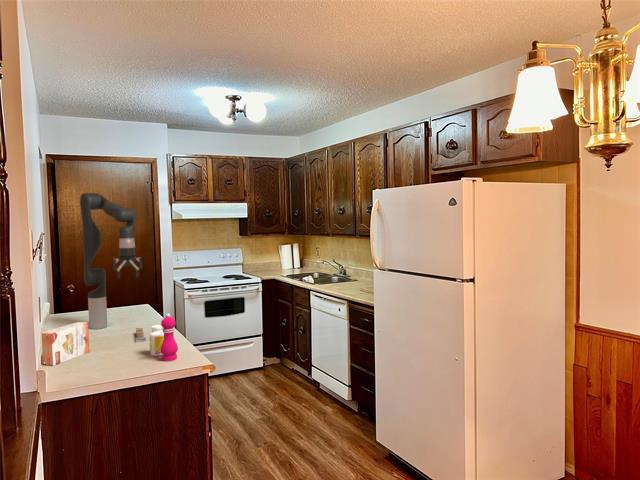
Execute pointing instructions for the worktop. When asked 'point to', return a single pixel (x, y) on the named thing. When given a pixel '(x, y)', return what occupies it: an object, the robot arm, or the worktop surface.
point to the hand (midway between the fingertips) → (128, 277)
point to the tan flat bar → (140, 335)
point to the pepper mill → (168, 339)
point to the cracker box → (65, 343)
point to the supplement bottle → (156, 340)
